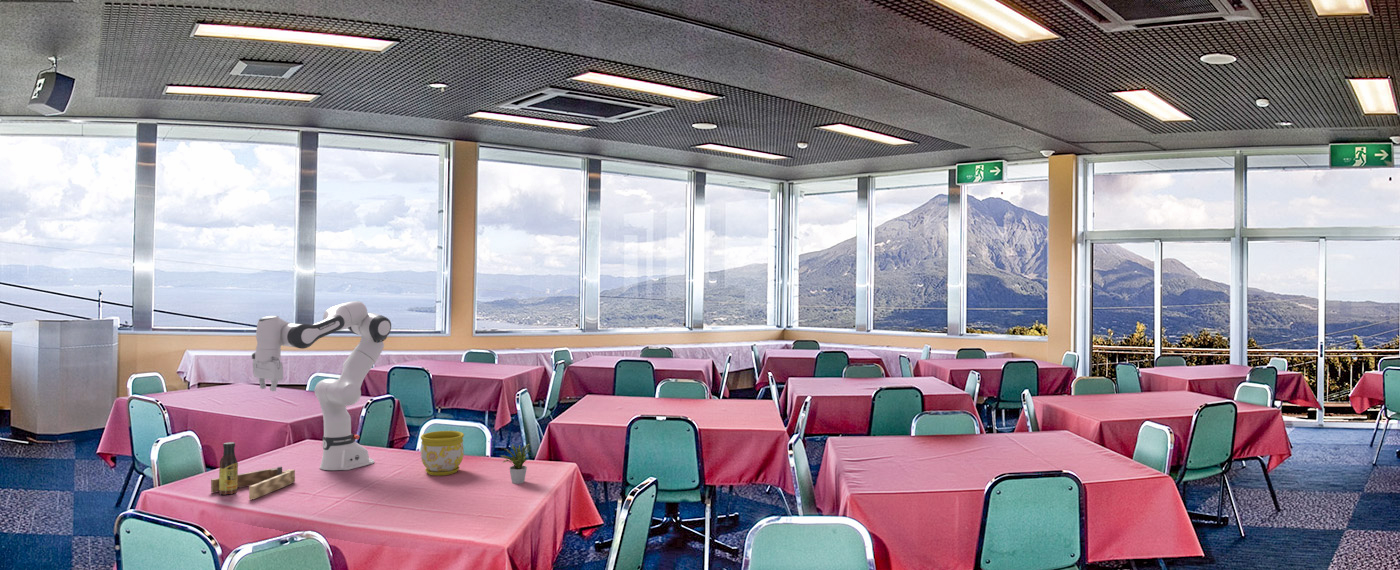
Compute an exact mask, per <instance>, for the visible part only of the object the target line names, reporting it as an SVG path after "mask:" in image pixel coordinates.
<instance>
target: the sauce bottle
mask: <svg viewBox="0 0 1400 570" xmlns="http://www.w3.org/2000/svg"><path fill="white" fill-rule="evenodd" d="M222 447H223V456H222V457H221V458H220V460H219V469H218V470H219V473H218V475H219V477H218V478H219V493H218V494H219V495H220V494H223V495H222V496H227V495H226V494H230V495H233V493H234V494H236V493H237V492H238V488H237V480H238V474H239V473H238V472H239V469H238V468H239V467H238V466H239V463H238V460H237V458H236V454H235V447H236V442H234V441H229V442H223V444H222Z"/></svg>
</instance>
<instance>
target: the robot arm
mask: <svg viewBox="0 0 1400 570" xmlns="http://www.w3.org/2000/svg"><path fill="white" fill-rule="evenodd" d="M322 318H323V319H322V320H321V321H319V322H316V323H313V324H309V323H292V322H289V321H286V320H284V319H282V318H281V317H280V316H279V315H268V316H263V317H261V318H259V319H258V321H257V324H256V330H255V331H256V333H255V335H256V336H255V338H256V342H257V343H256V348H255V352H254V353H251V359H252V374H253V377H256V378H258V383H259V389H262V390H263V389H264V390H265V389H266V388H267V384H266V380H268V381H270V383H271V385H270V386H269V390H270V392H276V391H277V387H278V384H279V383H278V382H279V381H283V380H284V366H283V362H282V361H281V359H282V358H281V353H282V352H281V350H282V349H281V348H282V347H289V348H297V349H301V350H304V349H308V348H310V347H311V346H313V345H314V343H316V342H317V341H318V340H320V339H321V338H324V337H326V336H328V335H330V334H333V333H336V332H338V331H342V330H343V331H344V330H346V329H348V330H349V331H350V333H352V334H354V335H358V336H361V337H360V338H361V339H360V341H359V343H358V344H357V345H356V346H355V348H354V349H353V350H352V351H351V352H350V354H349V355H348V356H347V357H346V359H345V361H344V362H343V364H342V372H341V374H340V377H338V378H325V379H321V380H320V381H318V382H317V383H316V385H315V387H314V395H315V397H316V398H317V400H318V402H319V406H320V408H321V412H322V417H323V418H322V419H323V436H322V458H321V462H320V466H319V469H320V470H323V471H349V470H352V469H357V468H360V467H365V466H369V465H372V464H375V460H374V459H373V458H370V454H369V452H368V449H367V448H366V447H364V446H363V445H361V444H359V443H358V442H356V440H359V439H360V435H359V434H353V433H352V417H351V415H350V413H349V412H348V409H347V407H348V406H353V405H355V404H356V403H358V402H359V400H360V398H361V397H362V390H361V387H362V384H363V381H364V380H365V378H366V376H367V374H369V372H370V371H371V369H372V368H373V366H374V365H375V364H376V362H377V360H378V359H379V358H380V355H381V354H382V352H383V350H384V347H385V342H384V341H386V339H387V337H388V336H390V333H391V330H392V322H391V320H390V319H389V318H387V317H386V316H384V315H380V314H377V313H372V312H368V309H367V307H366V305H365V304H364V303H363V302H362V301H359V300H354V301H347V302H343V303H340V304H337V305H333V306H332V307H330V308H328V309H326V310H325V311H324V313H323V316H322ZM281 346H282V347H281Z"/></svg>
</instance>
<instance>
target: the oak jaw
mask: <svg viewBox="0 0 1400 570" xmlns="http://www.w3.org/2000/svg"><path fill="white" fill-rule="evenodd" d="M295 482H296V470H295V469H286V470H282V474H280V475H277V476H275V477H272V478H270V479H267V480H265V481H262V482H259V483H257V484H254V485H250V486H248V488H249V489H248V494H249V495H248V500H252V499H253V500H255V499H258V498H260V497H263V496H265V495H268V494H271V493H272V492H275V491H277V490H279V489H282V488H284V487H287V486H290V485H291V484H293V483H295Z"/></svg>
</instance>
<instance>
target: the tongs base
mask: <svg viewBox="0 0 1400 570" xmlns="http://www.w3.org/2000/svg"><path fill="white" fill-rule="evenodd" d="M282 472H283V467H282V466H277V467H273V468H266V469H261V470H255V471H250V472H244V473H238V480H237V489H239V488H238V487H240V488H244V487H243V486H245V487H249V485H250V486H252V485H254V484H257V483H259V482H262V481H265V480H267V479H270V478H272V477H275V476H277V475H280V474H282ZM216 491H219V477H217V478H211V479H210V492H211V493H212V492H214V493H217V492H216Z"/></svg>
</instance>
